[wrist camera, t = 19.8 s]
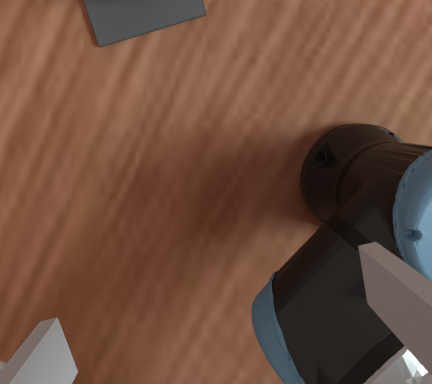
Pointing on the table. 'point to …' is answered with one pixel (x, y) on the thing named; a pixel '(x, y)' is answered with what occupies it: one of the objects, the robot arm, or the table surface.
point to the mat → (138, 16)
